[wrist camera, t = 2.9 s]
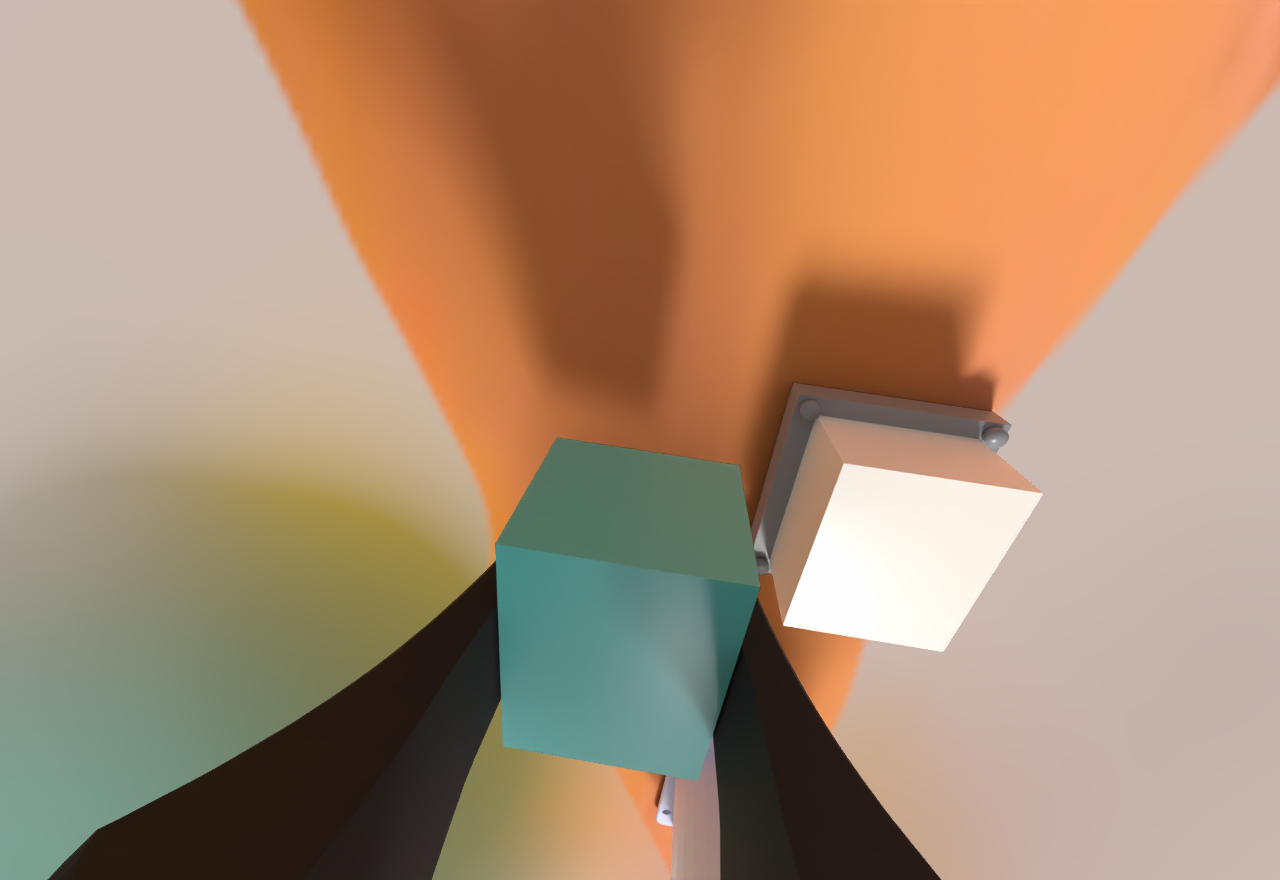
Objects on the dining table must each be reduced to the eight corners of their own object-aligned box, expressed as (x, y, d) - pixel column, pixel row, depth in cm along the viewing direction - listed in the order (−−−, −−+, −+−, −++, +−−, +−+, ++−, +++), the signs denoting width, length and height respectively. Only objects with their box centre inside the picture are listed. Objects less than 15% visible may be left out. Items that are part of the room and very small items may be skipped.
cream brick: (904, 581, 17) (943, 651, 14) (769, 560, 17) (782, 625, 15) (978, 439, 14) (1043, 493, 12) (816, 415, 15) (843, 463, 12)
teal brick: (697, 634, 14) (697, 781, 10) (550, 610, 14) (503, 745, 11) (739, 465, 11) (760, 587, 8) (557, 437, 11) (495, 543, 8)
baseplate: (906, 577, 18) (921, 602, 17) (744, 551, 19) (747, 574, 17) (992, 411, 15) (1017, 429, 14) (793, 382, 15) (801, 397, 14)
